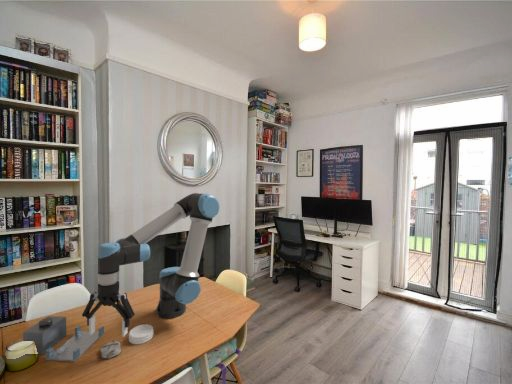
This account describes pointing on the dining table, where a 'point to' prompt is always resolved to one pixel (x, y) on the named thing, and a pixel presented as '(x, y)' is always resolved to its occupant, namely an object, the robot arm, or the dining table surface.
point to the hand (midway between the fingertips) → (108, 333)
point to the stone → (110, 349)
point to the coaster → (141, 334)
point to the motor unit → (54, 332)
